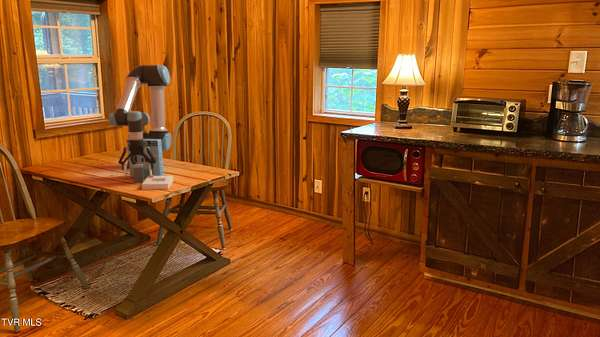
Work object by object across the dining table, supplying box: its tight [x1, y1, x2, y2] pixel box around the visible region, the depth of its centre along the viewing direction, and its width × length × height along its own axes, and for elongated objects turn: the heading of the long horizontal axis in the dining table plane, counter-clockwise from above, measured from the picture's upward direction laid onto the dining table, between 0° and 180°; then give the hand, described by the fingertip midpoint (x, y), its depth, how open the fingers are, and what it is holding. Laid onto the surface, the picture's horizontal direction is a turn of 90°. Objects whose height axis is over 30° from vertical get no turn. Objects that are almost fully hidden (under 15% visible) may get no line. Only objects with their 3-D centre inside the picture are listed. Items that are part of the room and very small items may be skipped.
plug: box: [133, 164, 145, 184], centre depth 280 cm, size 4×4×10 cm
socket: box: [141, 175, 174, 191], centre depth 274 cm, size 18×14×4 cm
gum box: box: [126, 138, 165, 179], centre depth 289 cm, size 20×5×23 cm, turn 81°
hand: (138, 175), depth 280 cm, fingers open, 13 cm apart
